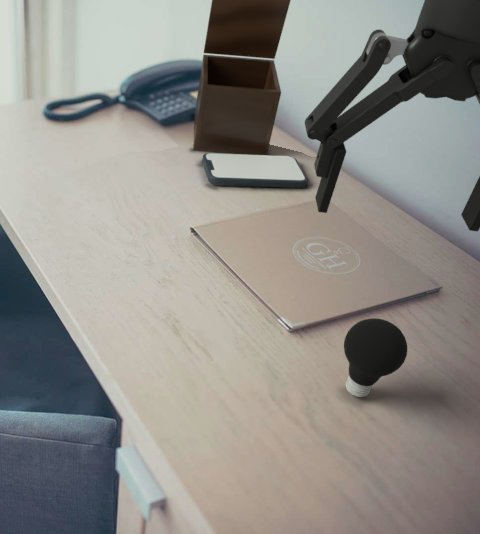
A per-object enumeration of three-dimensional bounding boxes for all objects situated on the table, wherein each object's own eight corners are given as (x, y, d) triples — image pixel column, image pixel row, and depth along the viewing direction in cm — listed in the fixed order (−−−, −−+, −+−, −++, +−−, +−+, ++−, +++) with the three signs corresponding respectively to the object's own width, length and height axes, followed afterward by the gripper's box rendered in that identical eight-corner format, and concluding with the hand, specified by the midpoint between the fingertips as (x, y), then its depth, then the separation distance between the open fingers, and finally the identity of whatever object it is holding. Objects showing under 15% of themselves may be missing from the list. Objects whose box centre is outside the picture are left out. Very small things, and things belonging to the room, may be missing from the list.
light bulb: (347, 420, 67) (377, 352, 60) (316, 379, 71) (341, 312, 65) (395, 408, 68) (429, 341, 62) (361, 368, 72) (390, 302, 66)
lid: (296, -23, 102) (294, -54, 107) (216, -28, 103) (218, -58, 109) (274, 59, 115) (273, 27, 120) (203, 53, 116) (205, 22, 121)
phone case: (292, 163, 110) (200, 160, 110) (294, 155, 109) (201, 151, 109) (307, 190, 103) (209, 187, 103) (310, 182, 102) (210, 178, 102)
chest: (266, 157, 111) (281, 92, 104) (193, 150, 112) (202, 85, 105) (260, 120, 123) (274, 60, 115) (194, 114, 124) (203, 54, 117)
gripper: (324, -24, 47) (262, 218, 60) (700, 5, 44) (549, 254, 57) (313, -48, 52) (259, 178, 66) (644, -23, 50) (519, 209, 63)
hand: (393, 214), depth 61 cm, fingers open, 13 cm apart
